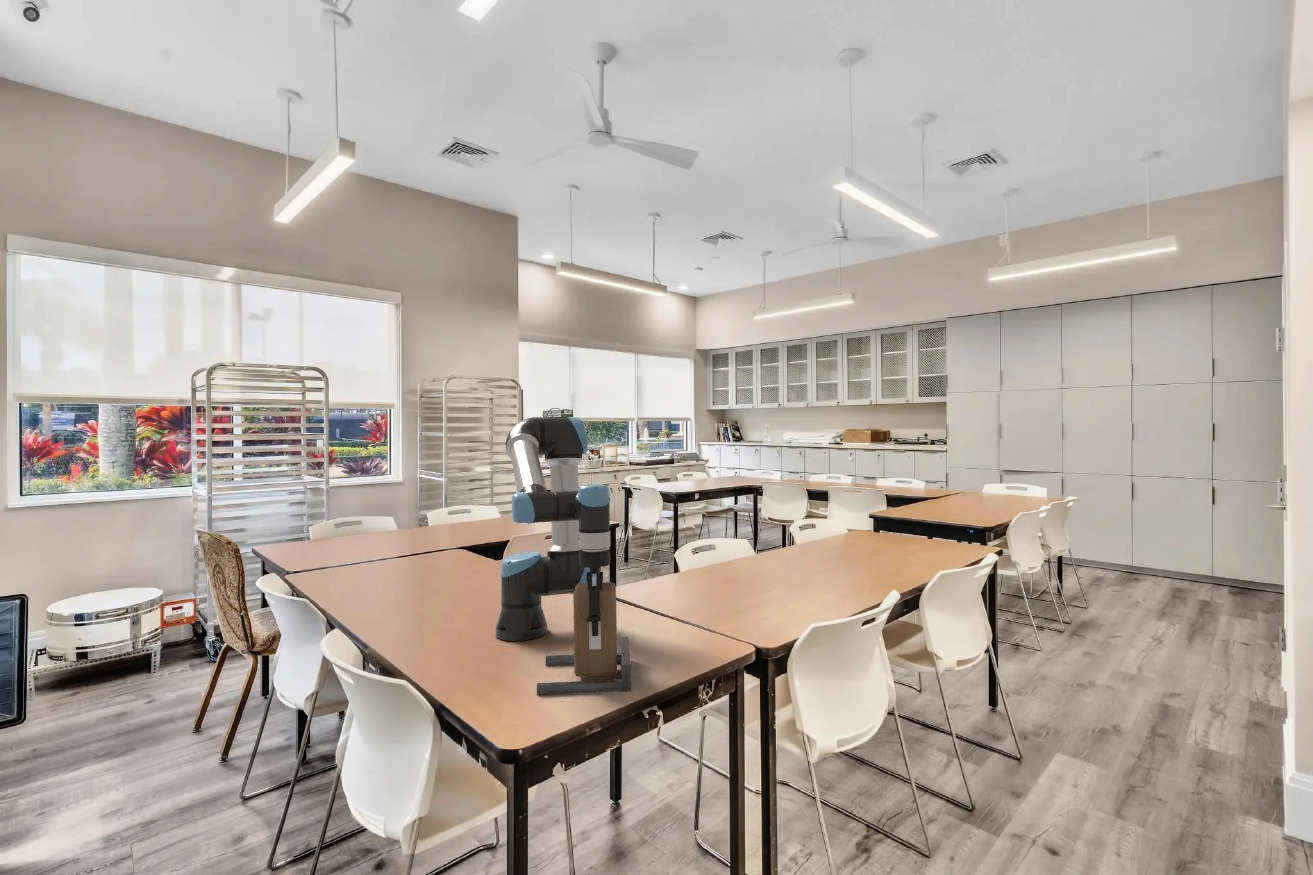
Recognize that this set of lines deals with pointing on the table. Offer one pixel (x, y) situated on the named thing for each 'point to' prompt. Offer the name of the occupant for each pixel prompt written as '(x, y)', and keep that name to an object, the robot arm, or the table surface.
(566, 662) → the end stop channel
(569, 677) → the table surface
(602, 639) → the wooden block
